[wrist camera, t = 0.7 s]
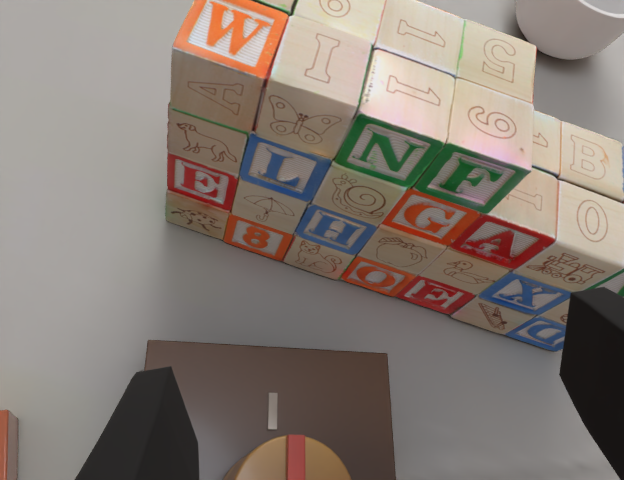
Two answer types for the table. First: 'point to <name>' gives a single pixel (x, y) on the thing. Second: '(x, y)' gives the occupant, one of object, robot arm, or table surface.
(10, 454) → the button base
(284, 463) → the dial
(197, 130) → the stack of blocks
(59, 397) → the table surface
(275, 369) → the dial panel
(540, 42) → the teacup
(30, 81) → the table surface
